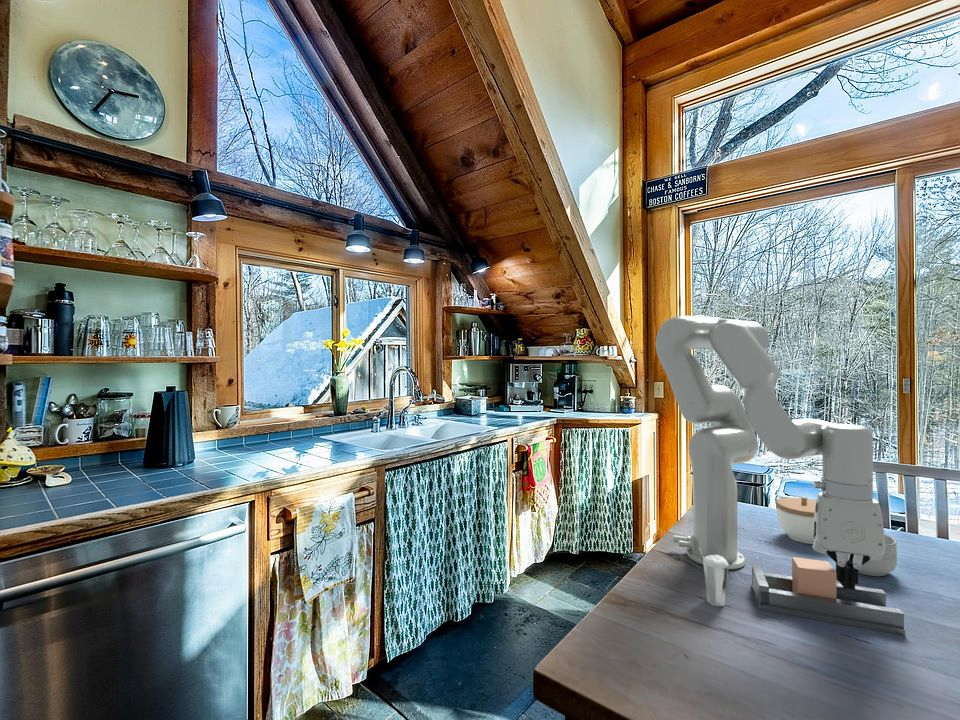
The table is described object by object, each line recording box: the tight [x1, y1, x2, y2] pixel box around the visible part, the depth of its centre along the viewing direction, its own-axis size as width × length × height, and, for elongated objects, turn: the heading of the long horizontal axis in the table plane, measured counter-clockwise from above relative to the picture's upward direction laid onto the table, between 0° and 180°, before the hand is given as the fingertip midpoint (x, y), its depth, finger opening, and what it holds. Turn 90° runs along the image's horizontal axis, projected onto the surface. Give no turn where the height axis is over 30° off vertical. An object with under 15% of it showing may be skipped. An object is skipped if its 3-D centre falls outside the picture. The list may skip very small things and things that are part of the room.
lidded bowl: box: [775, 496, 817, 545], centre depth 123 cm, size 13×13×11 cm
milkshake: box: [699, 548, 729, 608], centre depth 92 cm, size 5×5×10 cm
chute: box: [751, 565, 906, 636], centre depth 90 cm, size 22×10×4 cm, turn 68°
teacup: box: [844, 533, 898, 577], centre depth 106 cm, size 14×11×8 cm
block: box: [791, 556, 837, 599], centre depth 90 cm, size 6×5×7 cm
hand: (846, 585), depth 88 cm, fingers closed
